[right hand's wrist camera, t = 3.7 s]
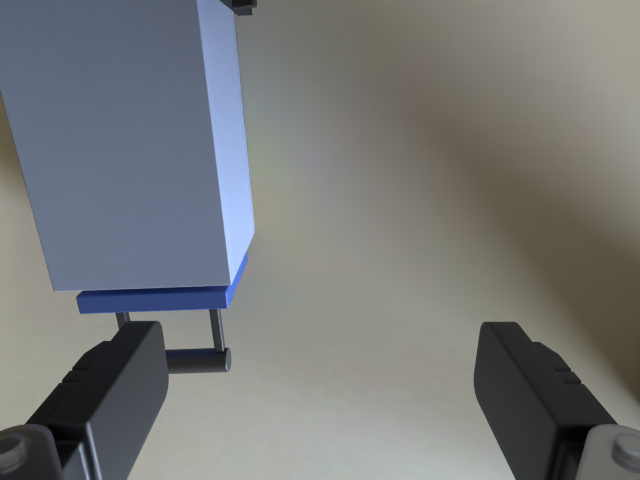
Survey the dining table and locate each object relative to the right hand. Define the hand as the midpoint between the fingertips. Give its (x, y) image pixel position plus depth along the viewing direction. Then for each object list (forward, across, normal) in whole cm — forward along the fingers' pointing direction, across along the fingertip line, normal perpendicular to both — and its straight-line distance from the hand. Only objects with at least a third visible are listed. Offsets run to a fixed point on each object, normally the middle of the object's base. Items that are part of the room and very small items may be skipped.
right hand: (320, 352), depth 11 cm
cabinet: (+23, +11, -4) cm, 26 cm away
